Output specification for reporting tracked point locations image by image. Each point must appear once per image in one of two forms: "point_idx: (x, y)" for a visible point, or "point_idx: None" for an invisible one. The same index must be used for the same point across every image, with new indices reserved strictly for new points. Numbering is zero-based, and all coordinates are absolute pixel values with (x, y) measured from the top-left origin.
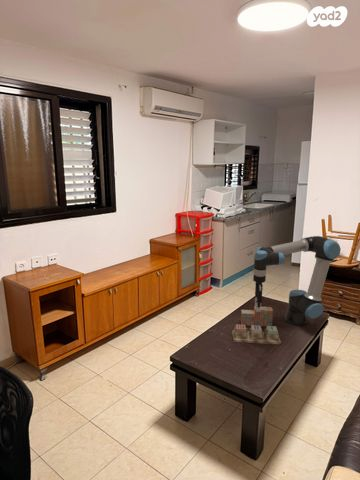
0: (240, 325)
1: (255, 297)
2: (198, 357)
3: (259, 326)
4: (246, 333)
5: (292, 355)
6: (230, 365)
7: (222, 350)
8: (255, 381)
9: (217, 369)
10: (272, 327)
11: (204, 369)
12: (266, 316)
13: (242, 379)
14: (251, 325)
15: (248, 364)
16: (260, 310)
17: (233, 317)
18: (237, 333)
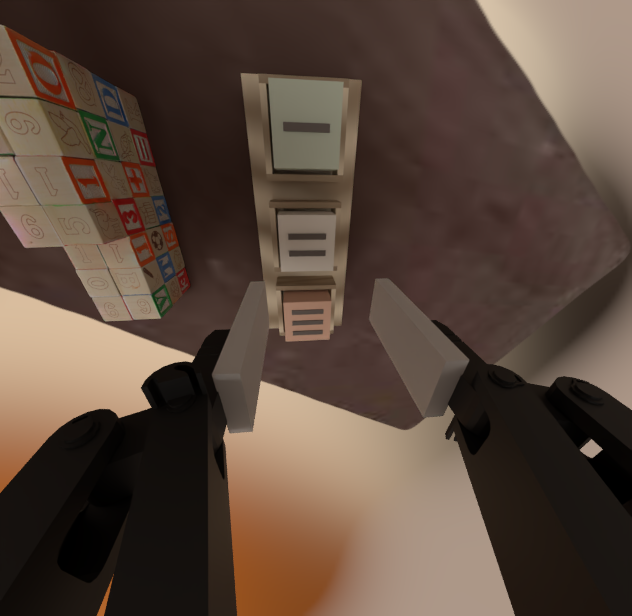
0: (297, 324)
1: (242, 429)
2: None
3: (290, 223)
4: (332, 288)
5: (474, 30)
6: (470, 328)
7: None
8: (567, 263)
9: None
10: (292, 119)
11: None
12: (99, 134)
13: (541, 299)
14: (285, 270)
15: (480, 277)
16: (394, 285)
17: None
18: (333, 324)
